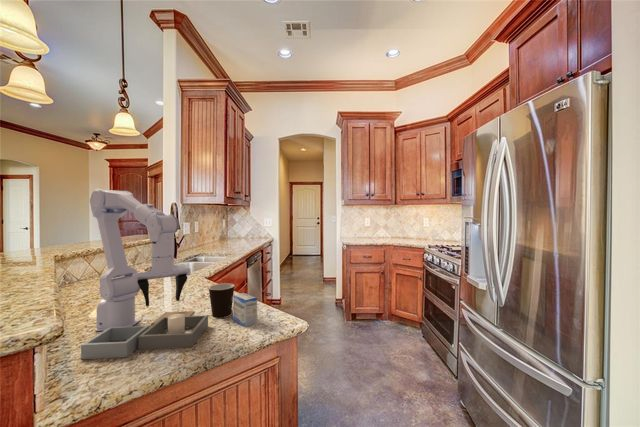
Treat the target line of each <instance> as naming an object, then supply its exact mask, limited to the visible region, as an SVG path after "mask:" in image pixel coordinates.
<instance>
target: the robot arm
mask: <svg viewBox="0 0 640 427" xmlns="http://www.w3.org/2000/svg"><path fill="white" fill-rule="evenodd" d="M89 204H90V208H91V213H92V217H93V218H95V219H96V220H97V225H98V230H99V234H100V239H101V243H102V248H103V252H104V257H105V261H106V266H107V270H106V272H104V273H103V274H102V275H101V276H100V277H99V291H98V292H99V294H100V297H101V298H102V299H101V300H100V301H99V302H98V304H97V306H96V328H95V329H94V332H103V331H105V330H106V329H108V328H109V327H126V326H136V324H138V323H140V321H142V318H136V297H137V296H138V293H139V292H140V291H141V292H142V294H143V296H144V297H143V298H144V300H145V306H146V307H149V306H150V296H149V292H150V282H149V280H157V279H165V278H172V277H174V278H175V300H176V302H179V301H180V298H181V295H182V294H181V293H182V292H183V289H184V286H185V283H186V282H187V280H188V276H190V275H191V268H190V267H184V268H183V267H182V268H175V234H176V233H177V232H178V230H179V227H180V223H179V219H178V218H177V217H176V216H175V215H174V214H165V213H164V211H162V210H159V209H157V208H155V207H154V204H152V203H144V204H143V203H141V202H140V201H139V200H138V199H136V198H135V197H134V194H133V193H132V192H130V191H128V190H111V189H101V188H95V189H94V190H93V191H92V192H91V195H90V198H89ZM127 212H130V213H132V214H133V217H134V219H135V220H136V221H138V222H139V223H140V224H142V225H143V226H145V227H146V230H147V232H148V234H149V235H148V236H149V241H150V242H151V270H150V271H144V272H138V270H137V269H136V268H134V267H132V266H130V265H128V260H127V256H126V253H125V252H126V251H125V248H124V247H125V246H124V243H123V239H122V235H121V231H120V230H121V229H120V226H119V219H120V218H123V217H124V216H125V215H126V214H127Z"/></svg>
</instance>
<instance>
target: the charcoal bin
mask: <svg viewBox="0 0 640 427" xmlns="http://www.w3.org/2000/svg"><path fill="white" fill-rule="evenodd" d="M208 327H209V315H208V314H207V315H206V314H205V315H204V314H203V315H191V316H185V329H192V330H191V331H190V332H185V333H179V334H168V333H162V332H163V331H164V330H168V317H162V318H161V319H160V320H159V321H157V322H156V323H155V324H153V325H150V326H149V329H147V330H146V331H145V332H143V333H142V334H141V335H140V336H138V348H137V350H138V351H139V350H141V351H142V350H158V349H159V350H163V349H178V348H179V349H182V348H193V347H194V345H195V344H196V343H197V341H198V340H199V338H200V337H201V336H202V335H203V333H205V330H207V328H208ZM160 332H161V333H160ZM159 333H160V334H159Z"/></svg>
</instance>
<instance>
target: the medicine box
mask: <svg viewBox="0 0 640 427" xmlns="http://www.w3.org/2000/svg"><path fill="white" fill-rule="evenodd" d="M232 321H233V322H234V323H236V324H238V325H240V326H243V327H245V328H247V327H250V326H254V325H256V324H258V297H255V296H253V295H252V294H251V295H250V294H248V293H246V292H243V293H238V294H233V303H232Z"/></svg>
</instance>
